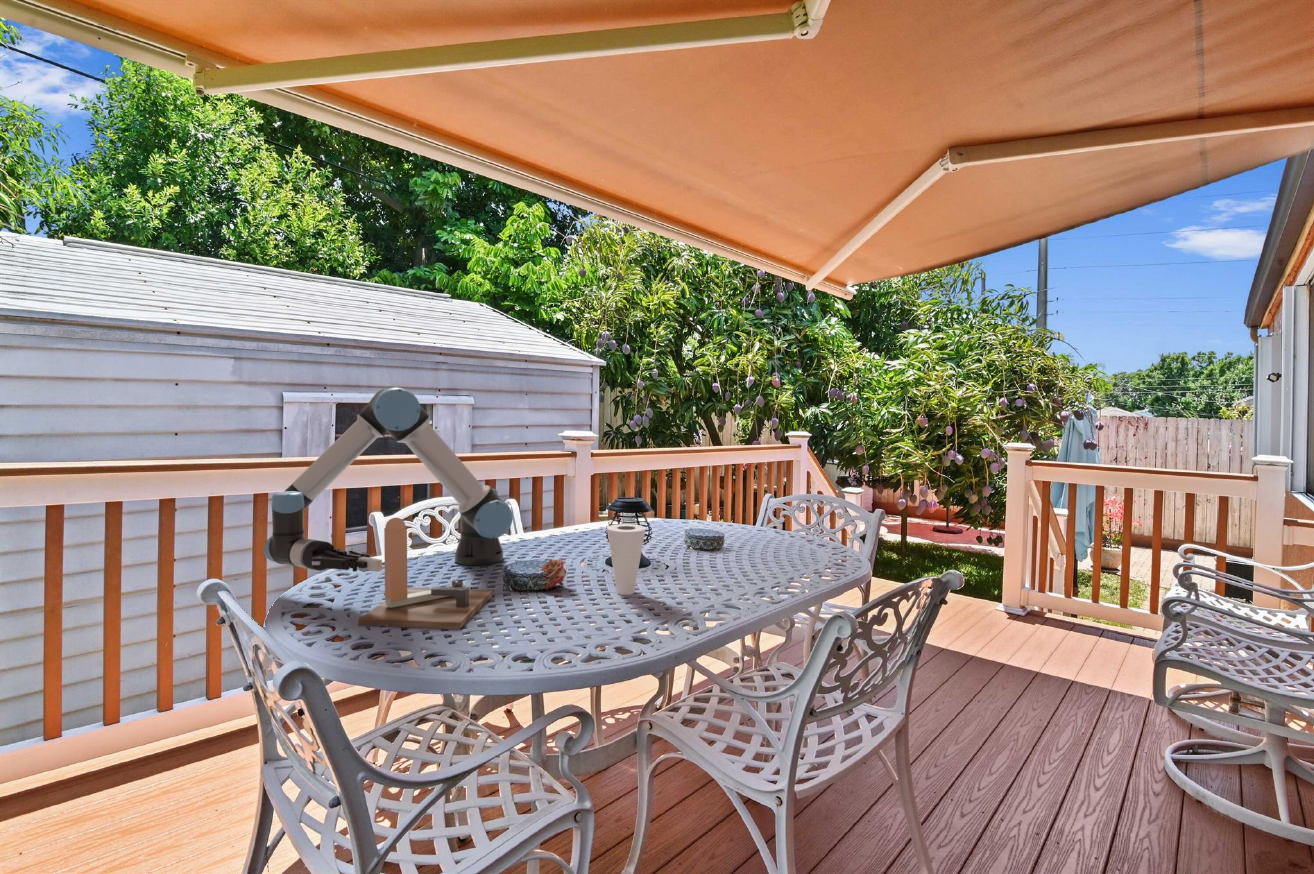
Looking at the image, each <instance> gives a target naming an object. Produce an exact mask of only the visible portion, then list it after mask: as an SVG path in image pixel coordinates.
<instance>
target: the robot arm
mask: <svg viewBox="0 0 1314 874" xmlns="http://www.w3.org/2000/svg"><path fill="white" fill-rule="evenodd" d="M430 420H431V417H430V415H429V413H428V412H426V410H425V409H424V408H423V406H422V405H421V404H420V401H419V400H418V398H417V397H416V395H415V394H414V393H412V392H411V391H410V390H408V389H406V388H403V387H396V386H394V387H386V388H383V389H381V390H379V391H377V392H376V393H375V394H374V395H373V397H372V398H370V401H369V402H368V403H367V404H366V405H365V406H364V408H362V409H361V411H360V412H359V413H358V414H357V415H356V421H355V422H353V423H352V424H351V426H349V427H348V429H347V430H346V431H345V432H344V433H342V435H341V436H339V437H338V438H337V439H336V440H335V441H334V442H333V443H332V444H331V445H330V446H329V447H328V448H327V449H326V450H325V451H324V452H323V453H322V454H321V455H319V457H317V459H316V460H315V461H313V462H312V464H310V465H309V466H308V467H307V468H306V469H305V470H304V471H303V472H302V473H301V474H300V475H299V476H298V477H297V478H296V479H295V480H294V481H293V482H291V484H290V485H289V486H288V487H286V489H285V490H284V491H278V492H275V493H274V494H273V495H272V497H271V519H272V521H271V522H272V535H271V536H270V537H269V538H268V539H267V540H266V541H265V544H264V546H263V553H264V556H265V557H266V559H268V560H269V561H271V562H273V563H276V564H279V565H286V566H292V567H293V566H294V567H297V568H303V569H304V570H309V569H310V570H315V571H325V570H327V569H329V570H342V571H348V570H350V569H352V572H353V573H354V572H358V569H360V570H364V571H371V572H376V573H377V572H382V571H383V560H382V559H379V558H373V557H370V554H369V553H365V552H364V551H363V552H362V551H359V550H356V549H355V548H353V547H352V548H349V549H348V550H347V551H346V550H342V549H340V548H335V547H334V546H333V544H332V543H331V542H328V541H324V540H318V539H311V538H305V513H304V512H305V510H306V509H307V508H308V507H309V506H310V505H311V504H312V503H313V501H315V500H316V499H317V498H318V497H319V496H320V495H321V494H322V492H324V491H325V490H327V488H328V487H329V486H330V485H331V484H332V483H333V482H334V481H335V480H336V479H337V478H338V477H339V476H340V475H342V473H343V472H344V471H345V470H346V469H347V468H348V467H349V466H350V465H351V464H352V463H354V461H356V459H357V458H359V456H361V455H362V453H363V452H364V451H366V449H368V448H369V446H371V444H373V443H374V442H375V441H376V440H377V439H378V438H384V437H385V436H386V435H387V434H389V435H390V436H391V437H392V438H393V440H394V441H395V442H396V443H399V444H400V443H401V444H402V443H403V444H405V445H406V446H407V447H408V448H409V449H410V450H411V451H412V453H413V454H414V455H415V457H417V458H418V459H419V461H420V462H421V464H423V465H424V466H425V468H426V469H427V470H428V471H429V472H430V473H431V474H432V475H433V476H434V477H435V479H436V480H437V481H438V482H439V483H440V485H442V486H443V488H444V489H445V490H446V491H447V492H448V494H450V496H451V497H452V498H453V499H454V500H455V501H456V502H457V504H458V512H459V514H460V516H459V517H460V538H459V541H458V543H457V546H456V550H455V553H454V562H455V563H456V564H459V565H464V566H484V565H485V566H486V565H492V564H497V563H499V562H501V561H503V560H504V551H503V548H502V545H501V542H500V539H499V538H500V537H502V536H504V535H505V534H506V533H508V531H509V530H510V528H511V526H512V524H513V519H514V518H513V517H514V515H513V512H512V511H513V510H512V508H511V506H510V505H509V504H508V503H507V502H505V501H503V500H502V499H501V498H500V497H499V494H498V490H497V489H496V488H492V487H491V486H490V485H485V484H484V485H482V484H481V482H480V481H479V480H478V479H477V478H476V476H474V474H473V473H472V472H471V470H469V468H467V466H466V465H465V464H464V463H463V462H462V460H461V459H460V458H459V457H458V456H457V454H456V453H455V452H454V451H453V450H452V449H451V447H450V446H449V445H448V444H447V443H446V442H445V441H444V440H443V438H442V437H441V436H440V435H439V433H438V432H437V431H436V430H435V429H434V428H433V427H432V425H431V424H430Z"/></svg>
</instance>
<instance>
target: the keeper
mask: <svg viewBox="0 0 1314 874" xmlns="http://www.w3.org/2000/svg"><path fill="white" fill-rule="evenodd" d="M451 585H452V587H449V586H433V587H431V588H432V589H431V595H438V596H456V607H463V608H466V607H467V606H468V605H469V589H470V587H466V588H464V587H461V586H463V585H464V580H463V579H454V580H451Z"/></svg>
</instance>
